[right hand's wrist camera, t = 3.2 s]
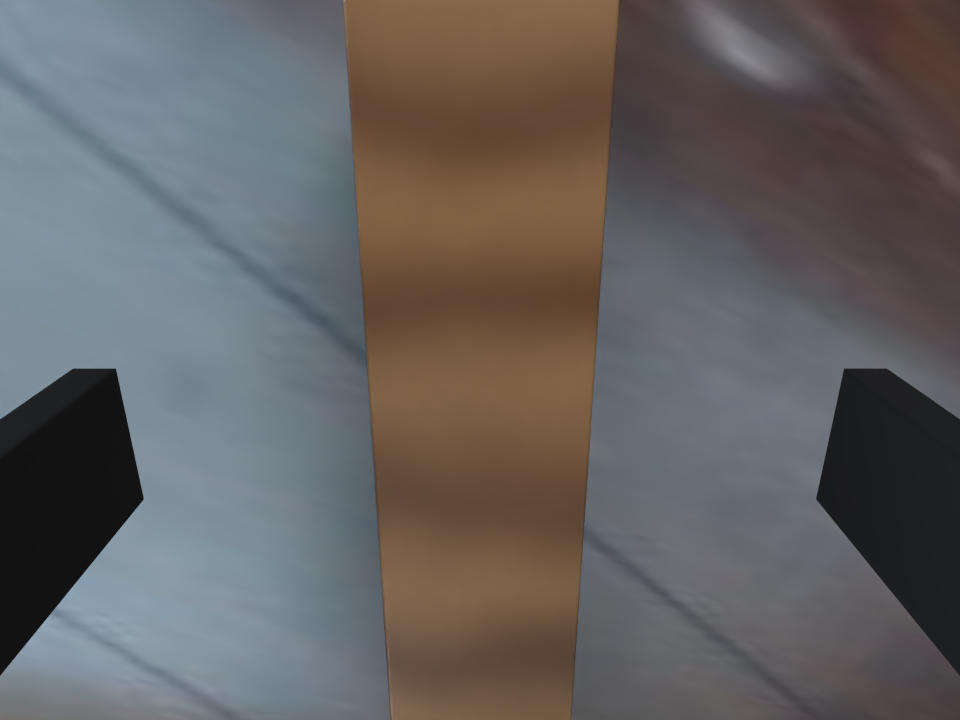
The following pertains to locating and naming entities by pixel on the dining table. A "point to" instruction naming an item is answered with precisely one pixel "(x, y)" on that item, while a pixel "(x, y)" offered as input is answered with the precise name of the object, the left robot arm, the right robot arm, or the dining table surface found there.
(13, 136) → the dining table surface
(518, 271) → the bar
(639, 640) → the dining table surface
